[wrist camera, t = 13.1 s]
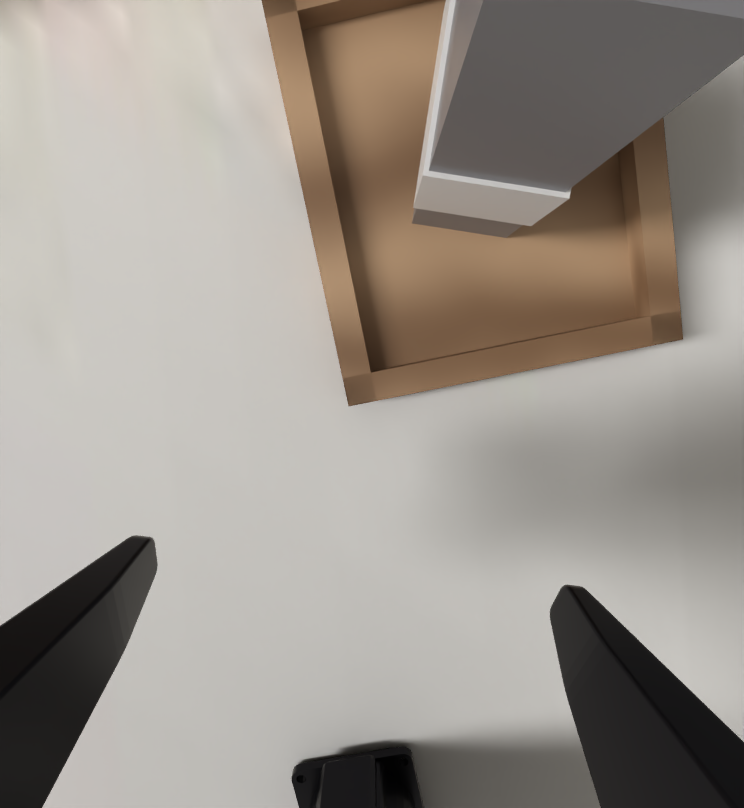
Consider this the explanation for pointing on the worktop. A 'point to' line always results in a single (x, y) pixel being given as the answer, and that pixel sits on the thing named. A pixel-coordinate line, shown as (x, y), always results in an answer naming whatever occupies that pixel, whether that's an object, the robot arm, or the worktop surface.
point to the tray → (445, 248)
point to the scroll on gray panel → (554, 97)
